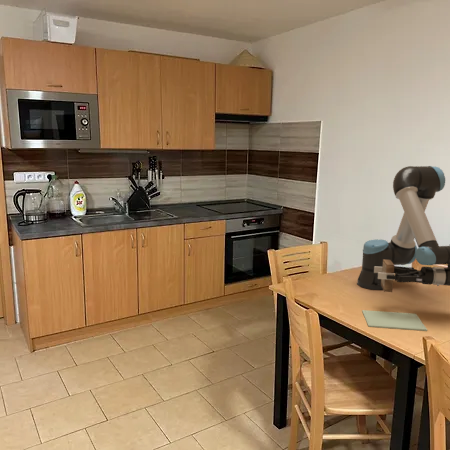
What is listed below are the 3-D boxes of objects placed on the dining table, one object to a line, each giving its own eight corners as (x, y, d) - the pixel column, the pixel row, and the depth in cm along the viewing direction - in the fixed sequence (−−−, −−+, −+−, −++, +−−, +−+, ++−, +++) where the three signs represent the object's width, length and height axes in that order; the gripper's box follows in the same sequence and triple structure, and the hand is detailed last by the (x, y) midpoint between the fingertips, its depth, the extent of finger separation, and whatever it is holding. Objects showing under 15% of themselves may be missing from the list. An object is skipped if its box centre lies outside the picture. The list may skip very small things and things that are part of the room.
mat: (368, 326, 168) (368, 325, 168) (362, 311, 184) (362, 310, 183) (427, 331, 165) (427, 329, 164) (415, 315, 180) (415, 313, 180)
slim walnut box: (384, 291, 181) (386, 264, 178) (380, 285, 188) (382, 259, 186) (391, 292, 180) (394, 265, 178) (387, 285, 188) (390, 259, 185)
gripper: (438, 292, 171) (380, 289, 174) (423, 276, 191) (371, 273, 194) (441, 275, 169) (381, 271, 173) (425, 260, 189) (372, 257, 193)
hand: (376, 272), depth 183 cm, fingers closed on slim walnut box, 8 cm apart
